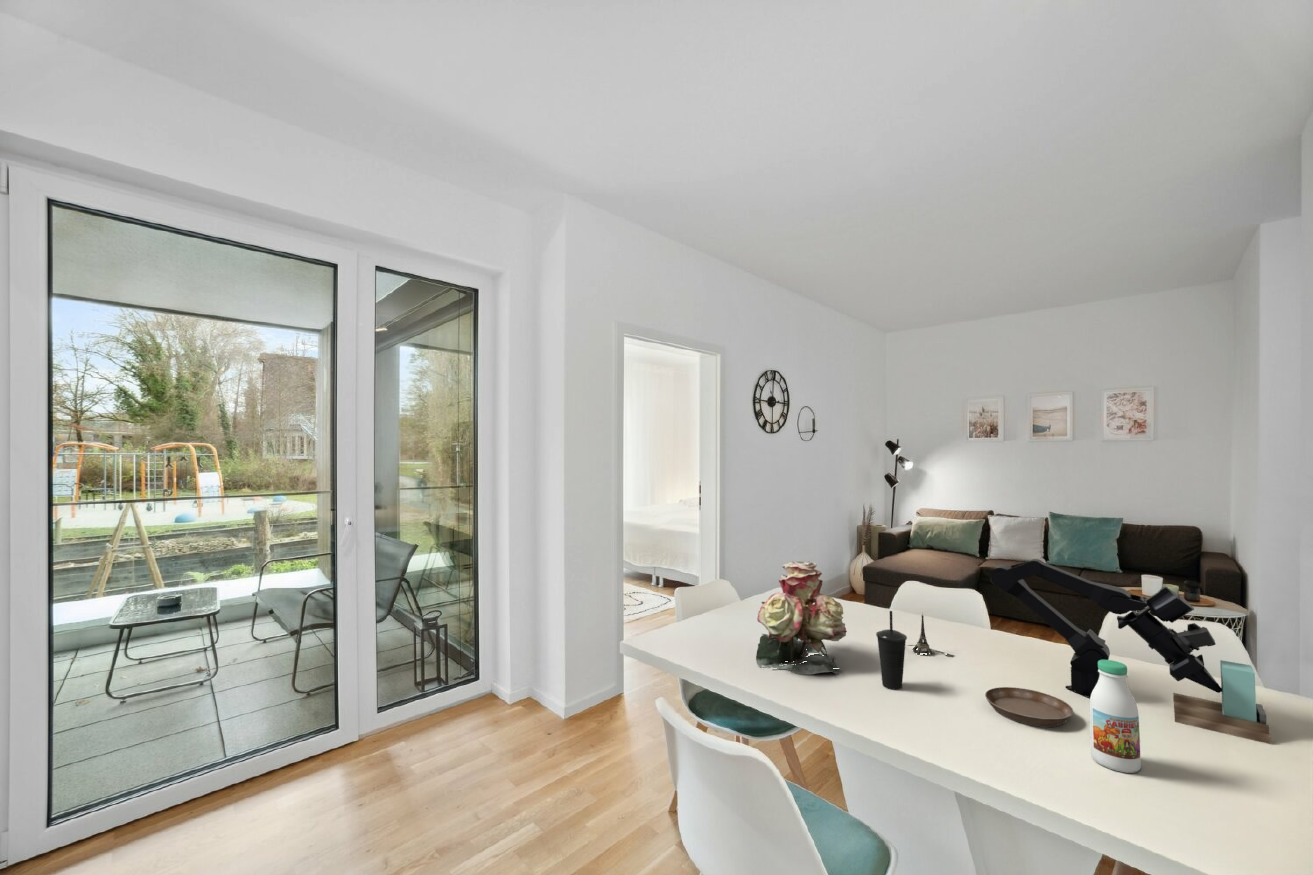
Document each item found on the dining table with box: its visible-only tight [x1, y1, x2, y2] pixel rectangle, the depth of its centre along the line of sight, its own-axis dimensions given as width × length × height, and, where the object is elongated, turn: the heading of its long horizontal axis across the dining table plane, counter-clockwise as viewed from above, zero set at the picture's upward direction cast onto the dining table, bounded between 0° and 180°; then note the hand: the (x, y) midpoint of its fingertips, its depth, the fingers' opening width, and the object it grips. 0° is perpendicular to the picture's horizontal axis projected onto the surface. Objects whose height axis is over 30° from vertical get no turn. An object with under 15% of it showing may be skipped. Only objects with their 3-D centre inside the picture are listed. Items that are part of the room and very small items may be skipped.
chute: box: [1172, 692, 1272, 745], centre depth 128 cm, size 15×13×5 cm
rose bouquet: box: [755, 560, 848, 676], centre depth 168 cm, size 26×29×30 cm
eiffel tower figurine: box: [907, 612, 956, 658], centre depth 174 cm, size 15×10×13 cm
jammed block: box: [1219, 659, 1257, 722], centre depth 126 cm, size 5×6×12 cm
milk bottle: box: [1089, 659, 1141, 774], centre depth 111 cm, size 8×8×20 cm
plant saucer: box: [984, 686, 1074, 728], centre depth 133 cm, size 18×18×3 cm
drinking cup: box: [875, 610, 908, 691], centre depth 149 cm, size 8×8×20 cm
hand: (1220, 691), depth 128 cm, fingers closed, pressing on jammed block
